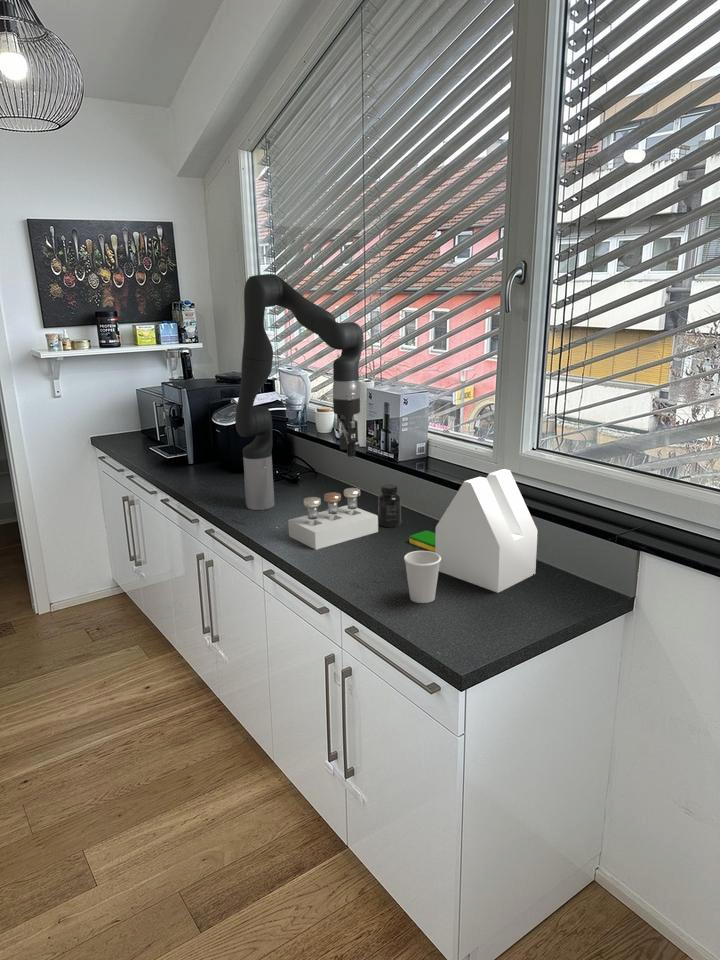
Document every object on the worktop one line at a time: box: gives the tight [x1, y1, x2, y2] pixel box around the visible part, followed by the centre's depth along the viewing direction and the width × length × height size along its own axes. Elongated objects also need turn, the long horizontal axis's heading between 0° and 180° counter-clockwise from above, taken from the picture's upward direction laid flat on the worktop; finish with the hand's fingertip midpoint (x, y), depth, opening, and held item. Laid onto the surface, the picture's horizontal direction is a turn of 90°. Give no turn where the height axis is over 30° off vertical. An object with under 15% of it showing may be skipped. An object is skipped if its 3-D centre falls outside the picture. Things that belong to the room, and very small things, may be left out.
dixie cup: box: [403, 550, 441, 604], centre depth 153 cm, size 8×8×10 cm
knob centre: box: [323, 491, 342, 514], centre depth 194 cm, size 5×5×6 cm
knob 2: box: [343, 487, 361, 509], centre depth 198 cm, size 5×5×6 cm
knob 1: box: [303, 496, 322, 520], centre depth 190 cm, size 5×5×6 cm
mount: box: [287, 504, 379, 550], centre depth 196 cm, size 14×22×5 cm, turn 127°
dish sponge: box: [408, 530, 436, 553], centre depth 186 cm, size 7×14×2 cm, turn 40°
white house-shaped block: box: [434, 468, 538, 594], centre depth 165 cm, size 19×15×25 cm
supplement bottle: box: [377, 483, 402, 528], centre depth 203 cm, size 7×7×12 cm
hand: (347, 452), depth 192 cm, fingers open, 8 cm apart
